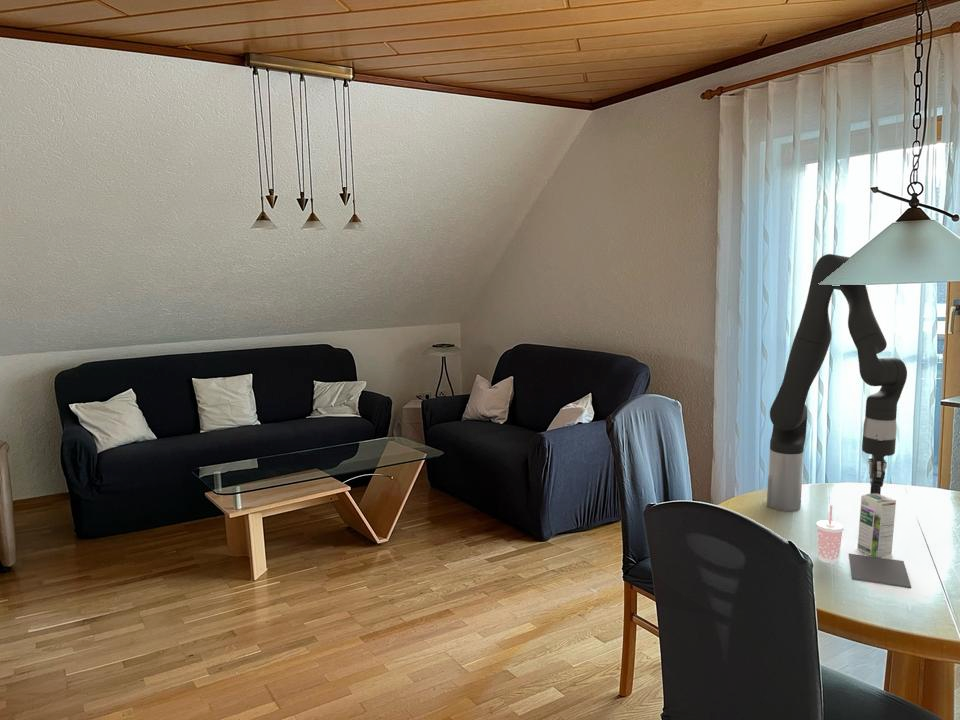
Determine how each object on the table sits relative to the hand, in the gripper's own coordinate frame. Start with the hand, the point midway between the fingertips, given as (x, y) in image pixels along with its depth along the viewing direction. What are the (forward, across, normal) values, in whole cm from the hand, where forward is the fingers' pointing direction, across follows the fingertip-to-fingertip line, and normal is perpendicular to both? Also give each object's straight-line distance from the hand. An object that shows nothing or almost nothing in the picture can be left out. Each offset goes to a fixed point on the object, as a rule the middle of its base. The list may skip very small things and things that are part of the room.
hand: (874, 499), depth 192 cm
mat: (+11, +20, 0) cm, 23 cm away
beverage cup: (+11, +18, -11) cm, 24 cm away
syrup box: (+11, +9, 0) cm, 14 cm away
